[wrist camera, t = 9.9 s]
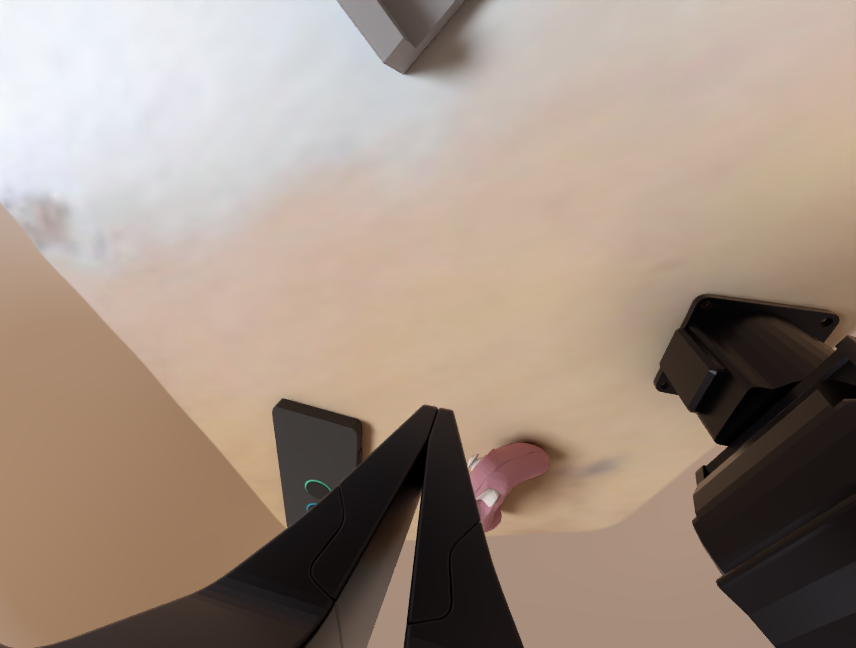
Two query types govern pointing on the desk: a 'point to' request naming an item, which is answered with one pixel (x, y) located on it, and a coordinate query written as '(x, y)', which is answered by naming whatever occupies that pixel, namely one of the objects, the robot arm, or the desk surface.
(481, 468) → the video game controller
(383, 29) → the rail box
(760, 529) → the robot arm
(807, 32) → the desk surface
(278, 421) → the smart home device
